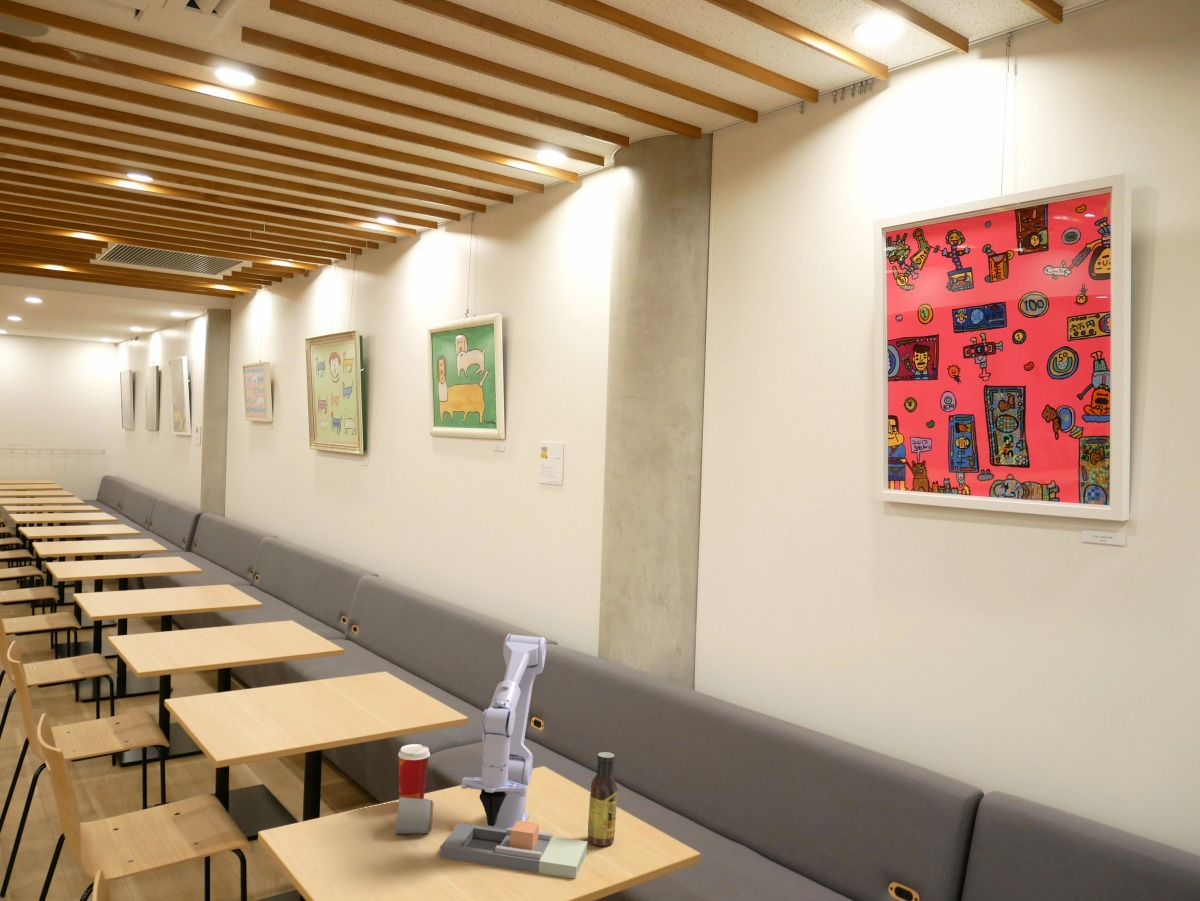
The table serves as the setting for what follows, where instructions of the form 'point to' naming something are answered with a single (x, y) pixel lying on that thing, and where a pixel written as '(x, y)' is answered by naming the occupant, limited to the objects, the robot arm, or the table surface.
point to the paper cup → (413, 770)
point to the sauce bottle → (603, 802)
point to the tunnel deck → (514, 851)
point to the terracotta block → (524, 835)
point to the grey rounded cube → (414, 815)
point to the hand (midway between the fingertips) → (491, 824)
